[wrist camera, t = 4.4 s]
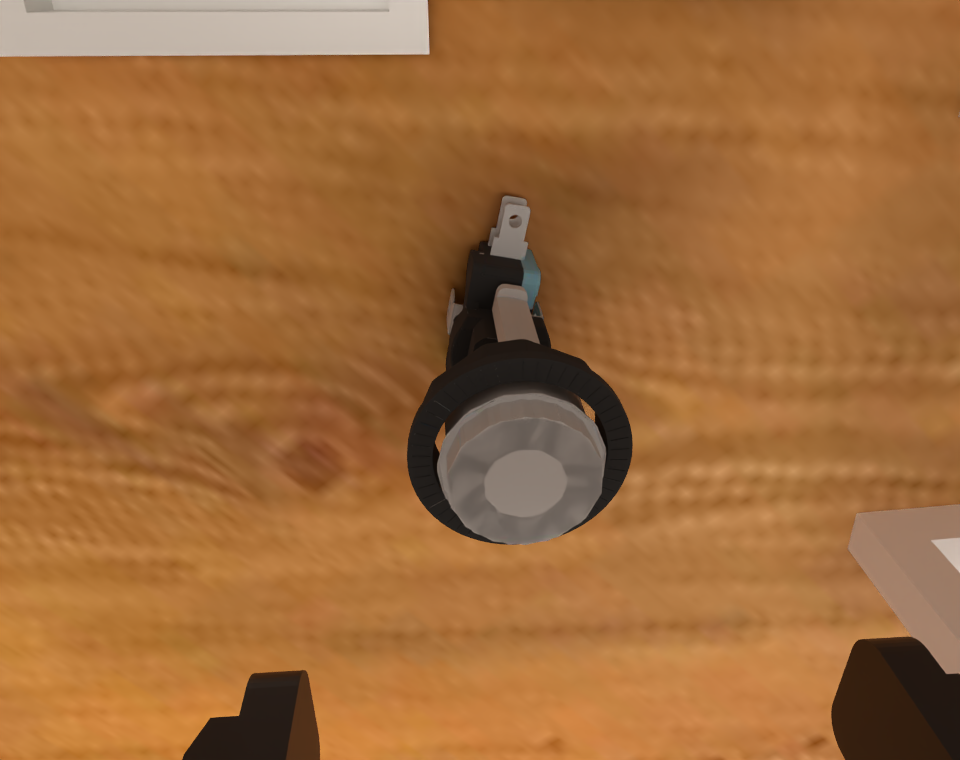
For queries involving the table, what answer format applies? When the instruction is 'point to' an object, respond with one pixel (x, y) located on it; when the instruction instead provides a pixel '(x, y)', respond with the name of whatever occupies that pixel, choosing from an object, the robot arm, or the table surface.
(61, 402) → the table surface
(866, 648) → the robot arm
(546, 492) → the push button
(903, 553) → the bookend
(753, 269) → the table surface
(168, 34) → the tray
